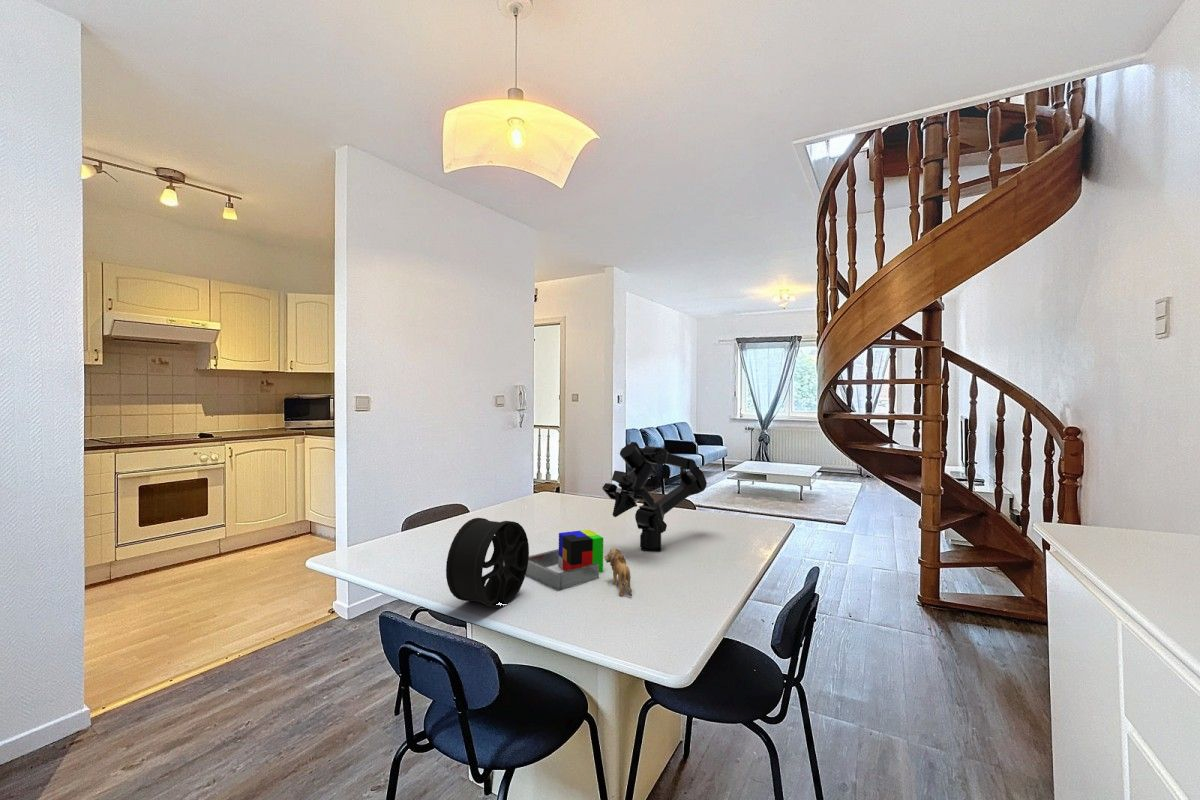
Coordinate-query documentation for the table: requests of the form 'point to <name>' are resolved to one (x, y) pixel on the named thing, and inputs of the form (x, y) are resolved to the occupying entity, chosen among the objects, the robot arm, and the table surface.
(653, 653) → the table surface
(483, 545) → the car wheel rim
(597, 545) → the puzzle toy
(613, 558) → the lion figurine
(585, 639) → the table surface
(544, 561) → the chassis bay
